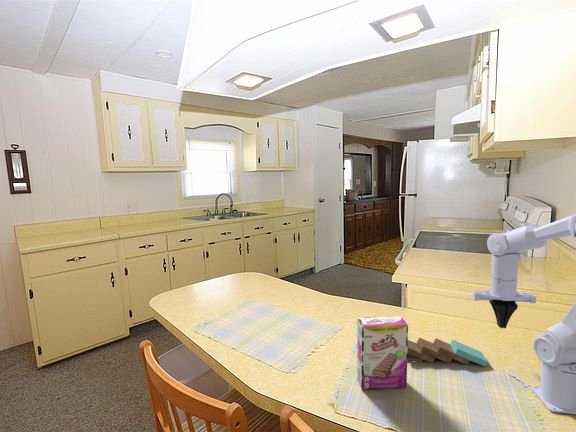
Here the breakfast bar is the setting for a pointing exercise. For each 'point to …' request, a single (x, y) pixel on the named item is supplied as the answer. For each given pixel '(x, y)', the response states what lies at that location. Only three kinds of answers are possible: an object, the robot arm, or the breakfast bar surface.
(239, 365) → the breakfast bar surface
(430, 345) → the walnut domino
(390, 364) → the candy bar box
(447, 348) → the walnut domino
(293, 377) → the breakfast bar surface
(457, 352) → the teal domino
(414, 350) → the walnut domino
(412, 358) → the walnut domino
